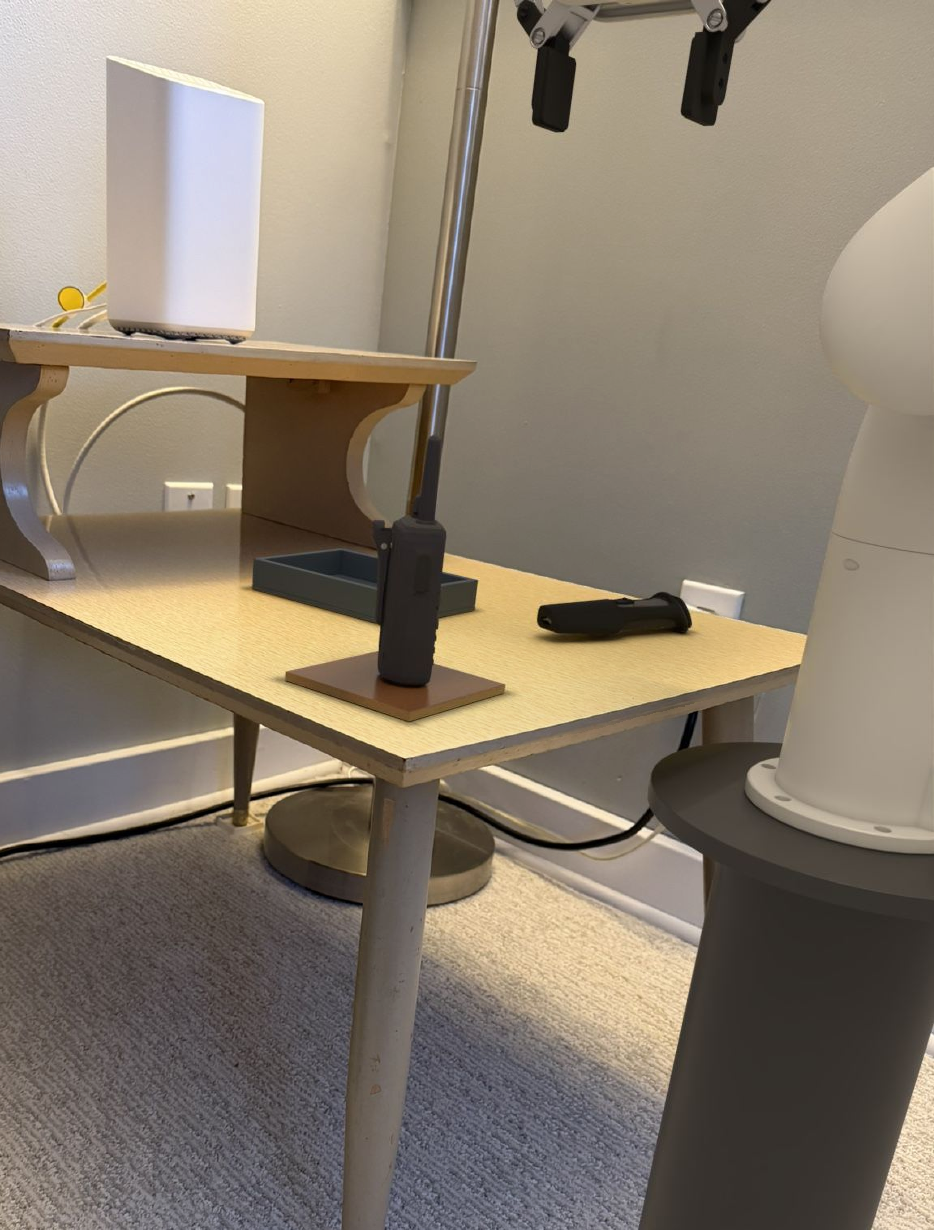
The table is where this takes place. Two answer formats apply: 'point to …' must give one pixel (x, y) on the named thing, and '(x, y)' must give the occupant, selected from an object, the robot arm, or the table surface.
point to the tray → (345, 582)
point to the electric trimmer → (615, 615)
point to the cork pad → (394, 687)
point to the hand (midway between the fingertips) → (620, 124)
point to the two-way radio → (411, 583)
